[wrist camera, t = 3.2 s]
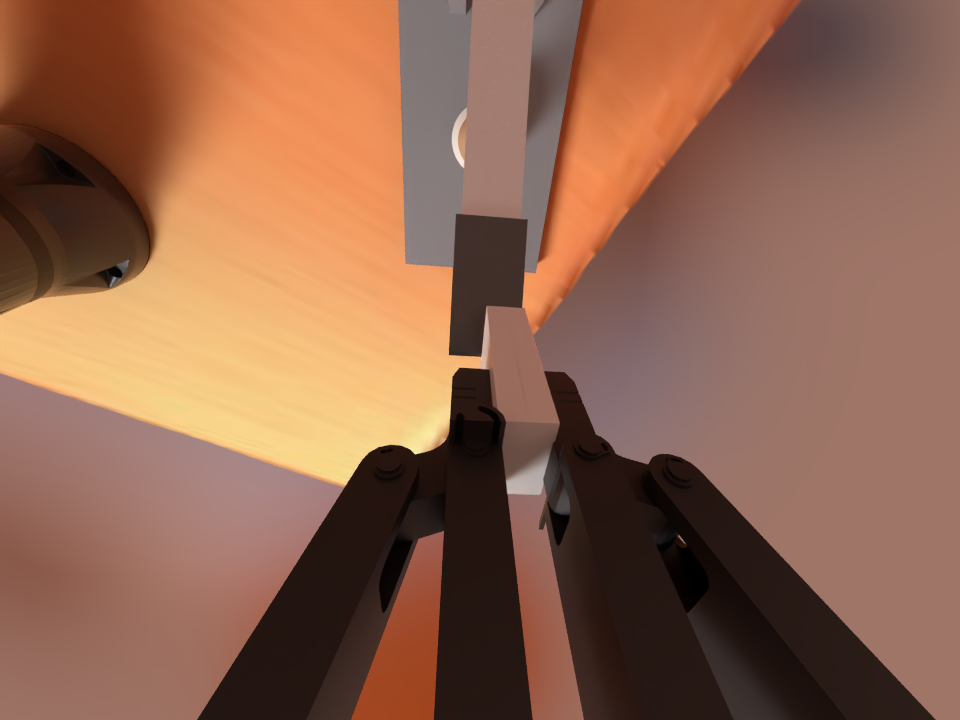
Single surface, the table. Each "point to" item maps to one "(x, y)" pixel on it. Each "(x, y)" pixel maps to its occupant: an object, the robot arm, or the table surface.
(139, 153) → the table surface
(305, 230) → the table surface
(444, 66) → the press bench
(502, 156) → the press lever
